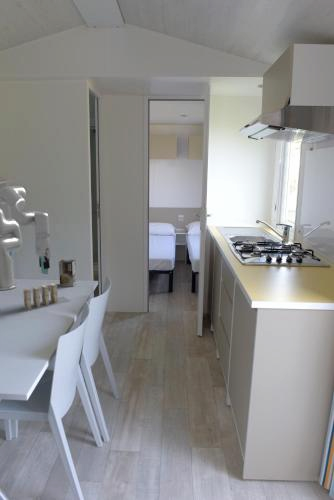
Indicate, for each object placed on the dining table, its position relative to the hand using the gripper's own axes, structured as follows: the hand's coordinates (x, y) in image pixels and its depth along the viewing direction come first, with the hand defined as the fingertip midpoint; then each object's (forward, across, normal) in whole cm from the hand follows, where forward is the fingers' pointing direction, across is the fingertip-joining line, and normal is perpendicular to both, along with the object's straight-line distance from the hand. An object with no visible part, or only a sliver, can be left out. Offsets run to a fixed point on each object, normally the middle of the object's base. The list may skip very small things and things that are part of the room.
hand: (44, 267), depth 210 cm
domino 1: (+20, +5, -12) cm, 24 cm away
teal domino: (+3, 0, 0) cm, 3 cm away
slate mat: (+20, +4, -2) cm, 21 cm away
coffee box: (+20, -20, +23) cm, 37 cm away
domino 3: (+20, +4, -2) cm, 20 cm away
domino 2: (+20, +4, -7) cm, 21 cm away
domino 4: (+20, +4, +3) cm, 20 cm away
